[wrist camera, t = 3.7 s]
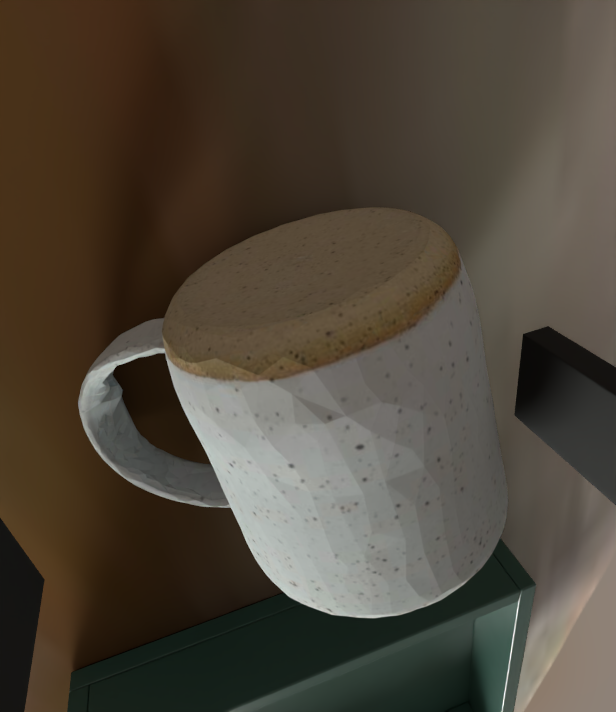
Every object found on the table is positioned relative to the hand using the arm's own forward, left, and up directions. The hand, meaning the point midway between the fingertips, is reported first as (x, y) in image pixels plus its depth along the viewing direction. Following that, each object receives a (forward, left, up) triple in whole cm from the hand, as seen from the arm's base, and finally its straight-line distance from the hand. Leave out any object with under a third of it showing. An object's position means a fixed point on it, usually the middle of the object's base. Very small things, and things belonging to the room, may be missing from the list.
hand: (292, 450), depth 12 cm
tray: (+1, +21, -5) cm, 22 cm away
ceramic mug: (0, 0, -5) cm, 5 cm away
